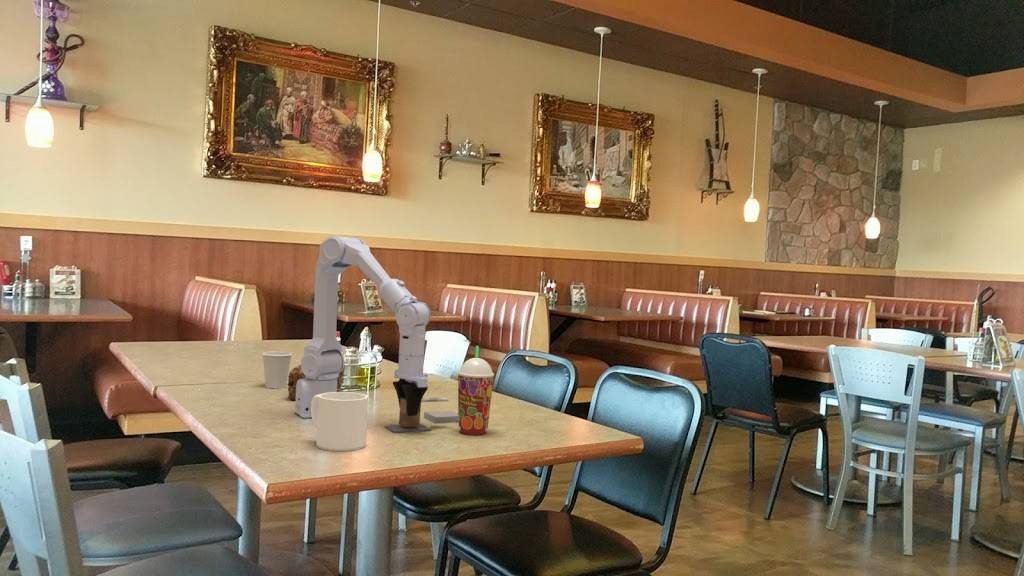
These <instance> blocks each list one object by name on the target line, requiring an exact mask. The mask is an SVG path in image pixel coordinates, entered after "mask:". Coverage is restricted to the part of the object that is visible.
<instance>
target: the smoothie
mask: <svg viewBox="0 0 1024 576" xmlns="http://www.w3.org/2000/svg"><path fill="white" fill-rule="evenodd" d="M479 348H480V345H475V355H474V356H475V357H471V358H469V359H467V360H466V361H464V362H463V364H462V365H461V367H460V369H459V370H458V371H457V396H458V397H457V398H458V399H457V402H458V404H457V405H458V407H457V409H458V412H457V413H458V422H457V423H458V427H459V430H460V433H462V434H465V435H471V436H477V435H478V436H480V435H484V434H485V433H486V430H487V429H488V427H489V420H490V411H491V403H492V395H493V393H492V391H493V385H494V377H495V373H494V372H493V369H492V366H491V365H490V363H488V361H487V360H485V359H483V358H481V357H479Z"/></svg>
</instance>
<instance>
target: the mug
mask: <svg viewBox="0 0 1024 576" xmlns="http://www.w3.org/2000/svg"><path fill="white" fill-rule="evenodd" d="M368 401H369V395H367V394H365V393H360V392H350V391H339V392H330V393H323V394H320V395H316V396H314V397H313V399H312V402H311V416H312V417H311V421H312V423H313V425H314V426H315V428H316V440H315V441H316V442H315V445H316V448H319V449H321V450H324V451H330V452H331V451H332V452H353V451H358V450H361V449H364V448H365V447H366V445H367V444H366V443H367V428H368V427H367V425H368V424H367V423H368V407H369V406H368V405H369V402H368Z"/></svg>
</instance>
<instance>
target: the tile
mask: <svg viewBox="0 0 1024 576" xmlns="http://www.w3.org/2000/svg"><path fill="white" fill-rule="evenodd" d="M423 418H424V419H425V420H427V421H429V422H432V423H434V424H450V423H451V424H452V423H458V412H455V411H454V410H436V411H424V413H423Z"/></svg>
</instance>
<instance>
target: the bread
mask: <svg viewBox="0 0 1024 576" xmlns="http://www.w3.org/2000/svg"><path fill="white" fill-rule="evenodd" d="M299 379H306V378H305V375H304V373H303V372H302V369H301V364H299V365H297V366H296V367H294V368H291V370H290V371H289V372H288V378H287V385H288V387H287V390H288V399H289V400H290V401H295V402H296V385H297V381H298V380H299ZM342 381H343V370H342V371H341V372H340V373H339V377H337V392H341V388H342V387H341V386H342Z"/></svg>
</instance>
